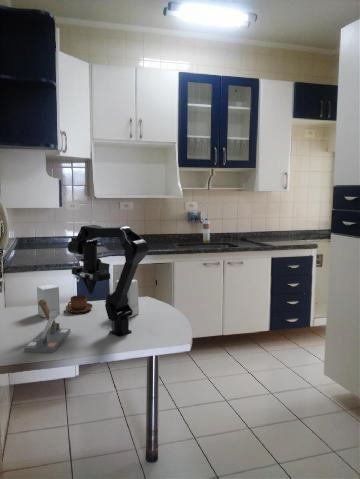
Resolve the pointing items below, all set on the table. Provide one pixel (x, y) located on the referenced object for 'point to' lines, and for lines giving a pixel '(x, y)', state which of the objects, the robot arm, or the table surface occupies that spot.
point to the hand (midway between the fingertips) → (91, 293)
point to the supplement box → (48, 298)
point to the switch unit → (48, 340)
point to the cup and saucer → (78, 304)
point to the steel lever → (48, 324)
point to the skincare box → (132, 297)
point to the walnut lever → (46, 311)
